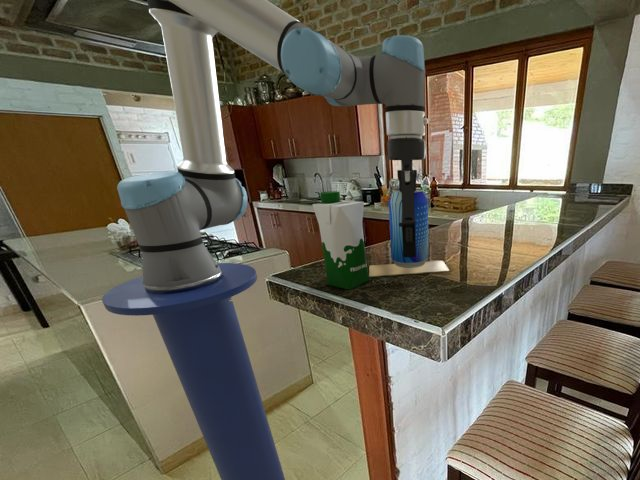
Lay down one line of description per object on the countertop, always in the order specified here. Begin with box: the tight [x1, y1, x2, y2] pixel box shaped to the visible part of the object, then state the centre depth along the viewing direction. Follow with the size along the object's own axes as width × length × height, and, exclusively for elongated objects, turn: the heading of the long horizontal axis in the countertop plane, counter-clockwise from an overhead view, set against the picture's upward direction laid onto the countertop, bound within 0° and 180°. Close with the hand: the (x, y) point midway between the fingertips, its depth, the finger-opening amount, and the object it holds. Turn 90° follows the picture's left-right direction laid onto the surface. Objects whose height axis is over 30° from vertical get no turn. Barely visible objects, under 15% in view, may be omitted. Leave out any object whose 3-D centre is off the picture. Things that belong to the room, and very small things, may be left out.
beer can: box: [388, 187, 429, 268], centre depth 73 cm, size 8×8×16 cm
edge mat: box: [368, 260, 450, 278], centre depth 87 cm, size 20×9×1 cm, turn 98°
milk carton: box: [312, 190, 370, 290], centre depth 74 cm, size 9×9×20 cm
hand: (409, 251), depth 76 cm, fingers closed on beer can, 8 cm apart
